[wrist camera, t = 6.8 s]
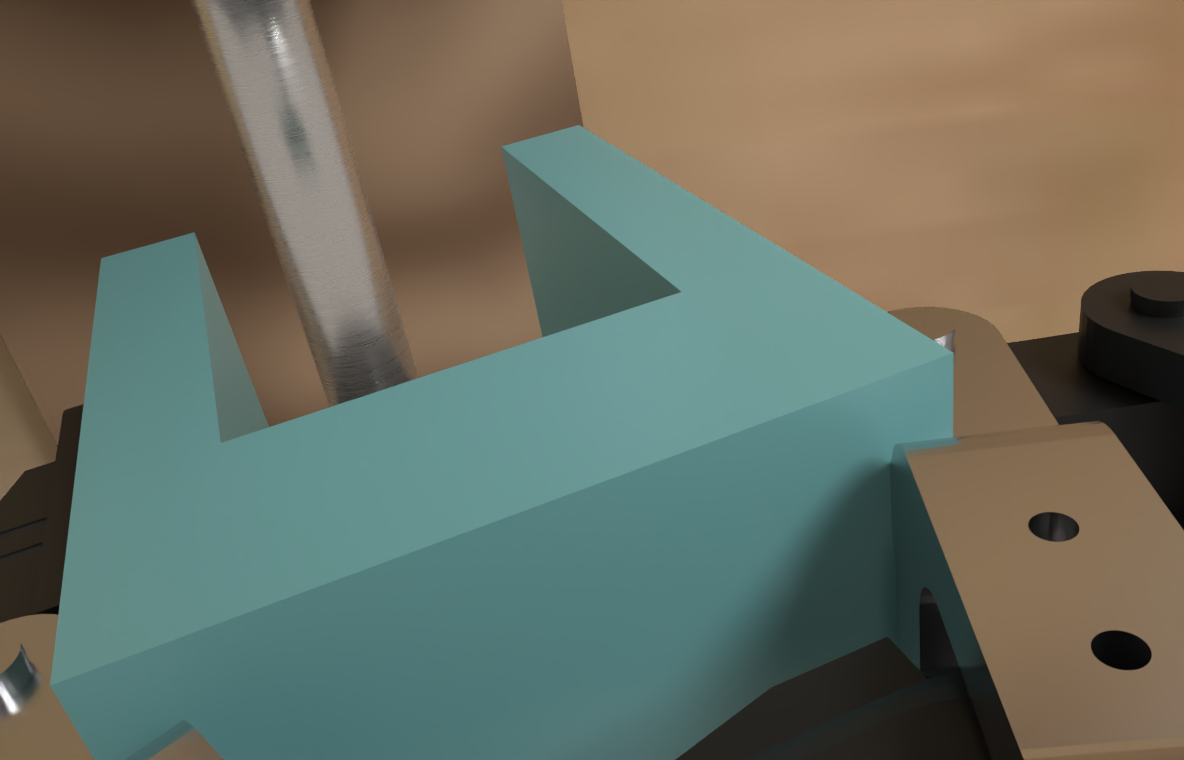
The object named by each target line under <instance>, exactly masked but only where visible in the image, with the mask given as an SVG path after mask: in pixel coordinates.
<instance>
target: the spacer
mask: <svg viewBox="0 0 1184 760" xmlns="http://www.w3.org/2000/svg"><path fill="white" fill-rule="evenodd" d="M501 148H502V153H503V158H504V162H505V167H506V171H507V176H508V181H509V185H510V190H511V194H512V199H513V204H514V208H515V213H516V217H517V222H518V227H519V231H520V236H521V240H522V245H523V250H524V254H525V259H526V263H527V268H528V273H529V277H530V282H531V287H532V291H533V296H534V300H535V305H536V310H537V314H538V319H539V323H540V328H541V333H542V338H539V339H536V340H533V341H530V342H527V343H524V344H521V345H518V346H515V347H512V348H509V349H506V350H503V351H500V352H497V353H494V354H491V355H488V356H485V357H482V358H478V359H475V360H472V361H469V362H466V363H463V364H460V365H457V366H454V367H451V368H448V369H445V370H442V371H439V372H436V373H433V374H430V375H427V376H424V377H421V378H418V379H414V380H411V381H408V382H405V383H402V384H399V385H396V386H393V387H390V388H387V389H384V390H381V391H378V392H375V393H372V394H369V395H366V396H363V397H360V398H357V399H353V400H350V401H347V402H344V403H341V404H338V405H335V406H332V407H329V408H326V409H323V410H320V411H317V412H314V413H311V414H308V415H305V416H302V417H299V418H296V419H293V420H289V421H286V422H283V423H280V424H277V425H274V426H271V427H269V425H268V423H267V420H266V418H265V415H264V412H263V410H262V407H261V404H260V402H259V399H258V397H257V394H256V391H255V389H254V386H253V384H252V381H251V378H250V376H249V373H248V371H247V368H246V365H245V363H244V360H243V358H242V355H241V352H240V350H239V347H238V345H237V342H236V339H235V337H234V334H233V331H232V329H231V326H230V324H229V321H228V318H227V316H226V313H225V311H224V308H223V305H222V303H221V300H220V298H219V295H218V292H217V290H216V287H215V285H214V282H213V279H212V277H211V274H210V272H209V269H208V266H207V264H206V261H205V258H204V256H203V253H202V251H201V248H200V245H199V243H198V240H197V238H196V235H195V232H194V233H190V234H186V235H183V236H179V237H176V238H172V239H169V240H165V241H161V242H158V243H154V244H151V245H147V246H143V247H140V248H136V249H133V250H129V251H126V252H122V253H118V254H115V255H111V256H108V257H104V258H101V263H100V272H99V280H98V288H97V297H96V305H95V314H94V322H93V330H92V339H91V347H90V355H89V364H88V372H87V380H86V389H85V397H84V405H83V414H82V422H81V431H80V439H79V447H78V456H77V464H76V472H75V481H74V489H73V497H72V506H71V514H70V522H69V531H68V539H67V547H66V556H65V564H64V572H63V581H62V589H61V598H60V606H59V614H58V623H57V631H56V639H55V648H54V656H53V664H52V673H51V681H50V686H51V688H52V690H53V691H54V693H55V695H56V696H57V698H58V700H59V701H60V703H61V705H62V706H63V708H64V710H65V711H66V713H67V715H68V717H69V718H70V720H71V722H72V723H73V725H74V727H75V728H76V730H77V732H78V733H79V735H80V737H81V738H82V740H83V742H84V743H85V745H86V747H87V748H88V750H89V752H90V753H91V755H92V757H93V758H94V760H125V759H127V758H128V757H129V756H131V755H132V754H134V753H135V752H137V751H138V750H140V749H141V748H142V747H144V746H145V745H147V744H148V743H150V742H151V741H153V740H154V739H156V738H157V737H158V736H160V735H161V734H163V733H164V732H166V731H167V730H169V729H170V728H171V727H173V726H174V725H176V724H177V723H179V722H180V721H182V720H185V721H187V722H188V723H190V724H191V725H192V726H193V727H194V728H195V729H196V730H197V731H198V732H199V733H200V734H201V735H202V736H203V737H204V738H205V739H206V741H207V742H208V743H209V744H210V745H211V746H212V747H213V748H214V749H215V750H216V751H217V753H218V754H219V755H220V756H221V757H222V758H223V759H224V760H676V759H677V758H678V757H680V756H681V755H682V754H683V753H685V752H686V751H687V750H689V749H690V748H691V747H693V746H694V745H695V744H697V743H698V742H699V741H701V740H702V739H703V738H705V737H706V736H707V735H709V734H710V733H711V732H713V731H714V730H715V729H717V728H718V727H719V726H721V725H722V724H723V723H725V722H726V721H727V720H729V719H730V718H731V717H733V716H734V715H735V714H737V713H738V712H739V711H741V710H742V709H743V708H745V707H746V706H747V705H748V704H750V703H751V702H752V701H754V700H755V699H756V698H758V697H759V696H760V695H762V694H763V693H764V692H766V691H767V690H768V689H770V688H771V687H773V686H775V685H778V684H780V683H782V682H785V681H787V680H789V679H791V678H794V677H796V676H798V675H801V674H803V673H805V672H807V671H810V670H812V669H814V668H817V667H819V666H821V665H823V664H826V663H828V662H830V661H833V660H835V659H837V658H839V657H842V656H844V655H846V654H849V653H851V652H853V651H855V650H858V649H860V648H862V647H865V646H867V645H869V644H871V643H874V642H876V641H878V640H881V639H883V638H885V637H888V638H889V639H890V640H891V641H892V642H893V643H894V644H895V645H896V646H897V647H898V621H897V587H896V562H895V552H894V544H893V538H892V517H891V484H890V462H891V458H892V452H893V448H894V446H895V444H898V443H907V442H916V441H924V440H933V439H942V438H951V437H953V352H951V351H950V350H948V349H947V348H945V347H943V346H942V345H940V344H938V343H937V342H935V341H933V340H932V339H930V338H928V337H927V336H925V335H923V334H922V333H920V332H919V331H917V330H915V329H914V328H912V327H910V326H909V325H907V324H905V323H904V322H902V321H900V320H899V319H897V318H896V317H894V316H892V315H891V314H889V313H887V312H886V311H884V310H882V309H881V308H879V307H877V306H876V305H874V304H873V303H871V302H869V301H868V300H866V299H864V298H863V297H861V296H859V295H858V294H856V293H854V292H853V291H851V290H850V289H848V288H846V287H845V286H843V285H841V284H840V283H838V282H836V281H835V280H833V279H831V278H830V277H828V276H827V275H825V274H823V273H822V272H820V271H818V270H817V269H815V268H813V267H812V266H810V265H808V264H807V263H805V262H804V261H802V260H800V259H799V258H797V257H795V256H794V255H792V254H790V253H789V252H787V251H785V250H784V249H782V248H781V247H779V246H777V245H776V244H774V243H772V242H771V241H769V240H767V239H766V238H764V237H762V236H761V235H759V234H758V233H756V232H754V231H753V230H751V229H749V228H748V227H746V226H744V225H743V224H741V223H739V222H738V221H736V220H735V219H733V218H731V217H730V216H728V215H726V214H725V213H723V212H721V211H720V210H718V209H716V208H715V207H713V206H711V205H710V204H708V203H707V202H705V201H703V200H702V199H700V198H698V197H697V196H695V195H693V194H692V193H690V192H688V191H687V190H685V189H684V188H682V187H680V186H679V185H677V184H675V183H674V182H672V181H670V180H669V179H667V178H665V177H664V176H662V175H661V174H659V173H657V172H656V171H654V170H652V169H651V168H649V167H647V166H646V165H644V164H642V163H641V162H639V161H638V160H636V159H634V158H633V157H631V156H629V155H628V154H626V153H624V152H623V151H621V150H619V149H618V148H616V147H615V146H613V145H611V144H610V143H608V142H606V141H605V140H603V139H601V138H600V137H598V136H596V135H595V134H593V133H592V132H590V131H588V130H587V129H585V128H583V127H582V126H580V125H577V126H573V127H570V128H566V129H562V130H559V131H555V132H552V133H548V134H545V135H541V136H537V137H534V138H530V139H527V140H523V141H520V142H516V143H512V144H509V145H505V146H502V147H501Z"/></svg>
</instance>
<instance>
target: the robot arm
mask: <svg viewBox="0 0 1184 760" xmlns="http://www.w3.org/2000/svg"><path fill="white" fill-rule="evenodd" d="M887 313H889V314H891V315H892V316H894V317H896V318H897V319H899V320H900V321H902V322H904V323H905V324H907V325H909V326H910V327H912V328H914V329H915V330H917V331H919V332H920V333H922V334H923V335H925V336H927V337H928V338H930V339H932V340H933V341H935V342H937V343H938V344H940V345H942V346H943V347H945V348H947V349H948V350H950V351H951V352H953V437H951V438H942V439H933V440H924V441H916V442H907V443H898V444H895V446H894V448H893V452H892V458H891V462H890V484H891V517H892V538H893V544H894V552H895V562H896V587H897V621H898V647H897V646H896V645H895V644H894V643H893V642H892V641H891V640H890V639H889V638H888V637H885V638H883V639H881V640H878V641H876V642H874V643H871V644H869V645H867V646H865V647H862V648H860V649H858V650H855V651H853V652H851V653H849V654H846V655H844V656H842V657H839V658H837V659H835V660H833V661H830V662H828V663H826V664H823V665H821V666H819V667H817V668H814V669H812V670H810V671H807V672H805V673H803V674H801V675H798V676H796V677H794V678H791V679H789V680H787V681H785V682H782V683H780V684H778V685H775V686H773V687H771V688H770V689H768V690H767V691H766V692H764V693H763V694H762V695H760V696H759V697H758V698H756V699H755V700H754V701H752V702H751V703H750V704H748V705H747V706H746V707H745V708H743V709H742V710H741V711H739V712H738V713H737V714H735V715H734V716H733V717H731V718H730V719H729V720H727V721H726V722H725V723H723V724H722V725H721V726H719V727H718V728H717V729H715V730H714V731H713V732H711V733H710V734H709V735H707V736H706V737H705V738H703V739H702V740H701V741H699V742H698V743H697V744H695V745H694V746H693V747H691V748H690V749H689V750H687V751H686V752H685V753H683V754H682V755H681V756H680V757H678V758H677V759H676V760H1184V272H1175V271H1141V272H1133V273H1126V274H1121V275H1116V276H1113V277H1110V278H1107V279H1104V280H1102V281H1100V282H1097V283H1096V284H1094V285H1092V286H1091V287H1089V288H1088V289H1087V290H1086V291H1085V292H1084V294H1083V296H1082V298H1081V311H1080V325H1079V332H1078V333H1071V334H1065V335H1058V336H1052V337H1045V338H1039V339H1032V340H1026V341H1019V342H1012V343H1006V341H1005V340H1004V338H1003V336H1002V335H1001V333H1000V332H999V331H998V329H997V328H996V327H995V326H994V325H993V324H991V323H990V322H989V321H987V320H985V319H983V318H981V317H979V316H977V315H974V314H971V313H969V312H965V311H960V310H956V309H949V308H940V307H914V308H904V309H899V310H893V311H889V312H887ZM83 405H84V404H82V405H79V406H76V407H72V408H69V409H66V410H64V412H63V415H62V421H61V428H60V434H59V441H58V448H57V454H56V461H55V462H52V463H49V464H46V465H42V466H39V467H36V468H33V469H30V470H27V471H25V472H24V473H23V474H22V475H21V477H20V478H19V479H18V480H17V481H16V483H15V484H14V485H13V486H12V487H11V489H10V490H9V491H8V492H7V493H6V495H5V496H4V497H3V498H2V499H1V501H0V760H94V758H93V757H92V755H91V753H90V752H89V750H88V748H87V747H86V745H85V743H84V742H83V740H82V738H81V737H80V735H79V733H78V732H77V730H76V728H75V727H74V725H73V723H72V722H71V720H70V718H69V717H68V715H67V713H66V711H65V710H64V708H63V706H62V705H61V703H60V701H59V700H58V698H57V696H56V695H55V693H54V691H53V690H52V688H51V686H50V681H51V673H52V664H53V656H54V648H55V639H56V631H57V623H58V614H59V606H60V598H61V589H62V581H63V572H64V564H65V556H66V547H67V539H68V531H69V522H70V514H71V506H72V497H73V489H74V481H75V472H76V464H77V456H78V447H79V439H80V431H81V422H82V414H83ZM125 760H224V759H223V758H222V757H221V756H220V755H219V754H218V753H217V751H216V750H215V749H214V748H213V747H212V746H211V745H210V744H209V743H208V742H207V741H206V739H205V738H204V737H203V736H202V735H201V734H200V733H199V732H198V731H197V730H196V729H195V728H194V727H193V726H192V725H191V724H190V723H188V722H187V721H185V720H182V721H180V722H179V723H177V724H176V725H174V726H173V727H171V728H170V729H169V730H167V731H166V732H164V733H163V734H161V735H160V736H158V737H157V738H156V739H154V740H153V741H151V742H150V743H148V744H147V745H145V746H144V747H142V748H141V749H140V750H138V751H137V752H135V753H134V754H132V755H131V756H129V757H128V758H127V759H125Z"/></svg>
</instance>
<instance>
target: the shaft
mask: <svg viewBox="0 0 1184 760" xmlns="http://www.w3.org/2000/svg"><path fill="white" fill-rule="evenodd" d="M190 2H191V5H192V8H193V10H194V13H195V16H196V19H197V22H198V25H199V28H200V31H201V34H202V37H203V40H204V42H205V45H206V48H207V51H208V54H209V57H210V60H211V63H212V66H213V69H214V72H215V74H216V77H217V80H218V83H219V86H220V89H221V92H222V95H223V98H224V101H225V104H226V106H227V109H228V112H229V115H230V118H231V121H232V124H233V127H234V130H235V133H236V136H237V139H238V141H239V144H240V147H241V150H242V153H243V156H244V159H245V162H246V165H247V168H248V171H249V173H250V176H251V179H252V182H253V185H254V188H255V191H256V194H257V197H258V200H259V203H260V205H261V208H262V211H263V214H264V217H265V220H266V223H267V226H268V229H269V232H270V235H271V238H272V240H273V243H274V246H275V249H276V252H277V255H278V258H279V261H280V264H281V267H282V270H283V272H284V275H285V278H286V281H287V284H288V287H289V290H290V293H291V296H292V299H293V302H294V304H295V307H296V310H297V313H298V316H299V319H300V322H301V325H302V328H303V331H304V334H305V336H306V339H307V342H308V345H309V348H310V351H311V354H312V357H313V360H314V363H315V366H316V369H317V371H318V374H319V377H320V380H321V383H322V386H323V389H324V392H325V395H326V398H327V401H328V403H329V406H330V407H332V406H335V405H338V404H341V403H344V402H347V401H350V400H353V399H357V398H360V397H363V396H366V395H369V394H372V393H375V392H378V391H381V390H384V389H387V388H390V387H393V386H396V385H399V384H402V383H405V382H408V381H411V380H414V379H418V378H419V376H418V373H417V369H416V366H415V362H414V359H413V355H412V352H411V348H410V345H409V341H408V338H407V334H406V331H405V328H404V324H403V321H402V317H401V314H400V310H399V307H398V303H397V300H396V296H395V293H394V289H393V286H392V282H391V279H390V276H389V272H388V269H387V265H386V262H385V258H384V255H383V251H382V248H381V244H380V241H379V237H378V234H377V231H376V227H375V224H374V220H373V217H372V213H371V210H370V206H369V203H368V199H367V196H366V192H365V189H364V185H363V182H362V179H361V175H360V172H359V168H358V165H357V161H356V158H355V154H354V151H353V147H352V144H351V140H350V137H349V133H348V130H347V127H346V123H345V120H344V116H343V113H342V109H341V106H340V102H339V99H338V95H337V92H336V88H335V85H334V81H333V78H332V75H331V71H330V68H329V64H328V61H327V57H326V54H325V50H324V47H323V43H322V40H321V36H320V33H319V29H318V26H317V23H316V19H315V16H314V12H313V9H312V5H311V2H310V0H190Z"/></svg>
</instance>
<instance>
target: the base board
mask: <svg viewBox="0 0 1184 760" xmlns="http://www.w3.org/2000/svg"><path fill="white" fill-rule="evenodd" d="M310 2H311V5H312V9H313V12H314V16H315V19H316V23H317V26H318V29H319V33H320V36H321V40H322V43H323V47H324V50H325V54H326V57H327V61H328V64H329V68H330V71H331V75H332V78H333V81H334V85H335V88H336V92H337V95H338V99H339V102H340V106H341V109H342V113H343V116H344V120H345V123H346V127H347V130H348V133H349V137H350V140H351V144H352V147H353V151H354V154H355V158H356V161H357V165H358V168H359V172H360V175H361V179H362V182H363V185H364V189H365V192H366V196H367V199H368V203H369V206H370V210H371V213H372V217H373V220H374V224H375V227H376V231H377V234H378V237H379V241H380V244H381V248H382V251H383V255H384V258H385V262H386V265H387V269H388V272H389V276H390V279H391V282H392V286H393V289H394V293H395V296H396V300H397V303H398V307H399V310H400V314H401V317H402V321H403V324H404V328H405V331H406V334H407V338H408V341H409V345H410V348H411V352H412V355H413V359H414V362H415V366H416V369H417V373H418V376H419V378H421V377H424V376H427V375H430V374H433V373H436V372H439V371H442V370H445V369H448V368H451V367H454V366H457V365H460V364H463V363H466V362H469V361H472V360H475V359H478V358H482V357H485V356H488V355H491V354H494V353H497V352H500V351H503V350H506V349H509V348H512V347H515V346H518V345H521V344H524V343H527V342H530V341H533V340H536V339H539V338H542V333H541V328H540V323H539V319H538V314H537V310H536V305H535V300H534V296H533V291H532V287H531V282H530V277H529V273H528V268H527V263H526V259H525V254H524V250H523V245H522V240H521V236H520V231H519V227H518V222H517V217H516V213H515V208H514V204H513V199H512V194H511V190H510V185H509V181H508V176H507V171H506V167H505V162H504V158H503V153H502V148H501V147H502V146H505V145H509V144H512V143H516V142H520V141H523V140H527V139H530V138H534V137H537V136H541V135H545V134H548V133H552V132H555V131H559V130H562V129H566V128H570V127H573V126H577V125H580V126H582V127H583V123H582V117H581V112H580V106H579V100H578V94H577V89H576V83H575V77H574V71H573V66H572V60H571V54H570V48H569V42H568V37H567V31H566V25H565V19H564V14H563V8H562V2H561V0H310ZM194 232H195V235H196V238H197V240H198V243H199V245H200V248H201V251H202V253H203V256H204V258H205V261H206V264H207V266H208V269H209V272H210V274H211V277H212V279H213V282H214V285H215V287H216V290H217V292H218V295H219V298H220V300H221V303H222V305H223V308H224V311H225V313H226V316H227V318H228V321H229V324H230V326H231V329H232V331H233V334H234V337H235V339H236V342H237V345H238V347H239V350H240V352H241V355H242V358H243V360H244V363H245V365H246V368H247V371H248V373H249V376H250V378H251V381H252V384H253V386H254V389H255V391H256V394H257V397H258V399H259V402H260V404H261V407H262V410H263V412H264V415H265V418H266V420H267V423H268V425H269V427H271V426H274V425H277V424H280V423H283V422H286V421H289V420H293V419H296V418H299V417H302V416H305V415H308V414H311V413H314V412H317V411H320V410H323V409H326V408H329V407H330V406H329V403H328V401H327V398H326V395H325V392H324V389H323V386H322V383H321V380H320V377H319V374H318V371H317V369H316V366H315V363H314V360H313V357H312V354H311V351H310V348H309V345H308V342H307V339H306V336H305V334H304V331H303V328H302V325H301V322H300V319H299V316H298V313H297V310H296V307H295V304H294V302H293V299H292V296H291V293H290V290H289V287H288V284H287V281H286V278H285V275H284V272H283V270H282V267H281V264H280V261H279V258H278V255H277V252H276V249H275V246H274V243H273V240H272V238H271V235H270V232H269V229H268V226H267V223H266V220H265V217H264V214H263V211H262V208H261V205H260V203H259V200H258V197H257V194H256V191H255V188H254V185H253V182H252V179H251V176H250V173H249V171H248V168H247V165H246V162H245V159H244V156H243V153H242V150H241V147H240V144H239V141H238V139H237V136H236V133H235V130H234V127H233V124H232V121H231V118H230V115H229V112H228V109H227V106H226V104H225V101H224V98H223V95H222V92H221V89H220V86H219V83H218V80H217V77H216V74H215V72H214V69H213V66H212V63H211V60H210V57H209V54H208V51H207V48H206V45H205V42H204V40H203V37H202V34H201V31H200V28H199V25H198V22H197V19H196V16H195V13H194V10H193V8H192V5H191V2H190V0H0V335H1V337H2V339H3V341H4V343H5V345H6V347H7V348H8V350H9V352H10V354H11V356H12V358H13V360H14V362H15V364H16V366H17V368H18V370H19V372H20V374H21V376H22V378H23V380H24V382H25V384H26V386H27V388H28V390H29V392H30V394H31V396H32V398H33V400H34V402H35V404H36V406H37V408H38V409H39V411H40V413H41V415H42V417H43V419H44V421H45V423H46V425H47V427H48V429H49V431H50V433H51V435H52V437H53V439H54V441H55V443H56V445H57V447H58V441H59V434H60V428H61V421H62V415H63V412H64V410H66V409H69V408H72V407H76V406H79V405H82V404H84V397H85V389H86V380H87V372H88V364H89V355H90V347H91V339H92V330H93V322H94V314H95V305H96V297H97V288H98V280H99V272H100V263H101V258H104V257H108V256H111V255H115V254H118V253H122V252H126V251H129V250H133V249H136V248H140V247H143V246H147V245H151V244H154V243H158V242H161V241H165V240H169V239H172V238H176V237H179V236H183V235H186V234H190V233H194Z"/></svg>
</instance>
